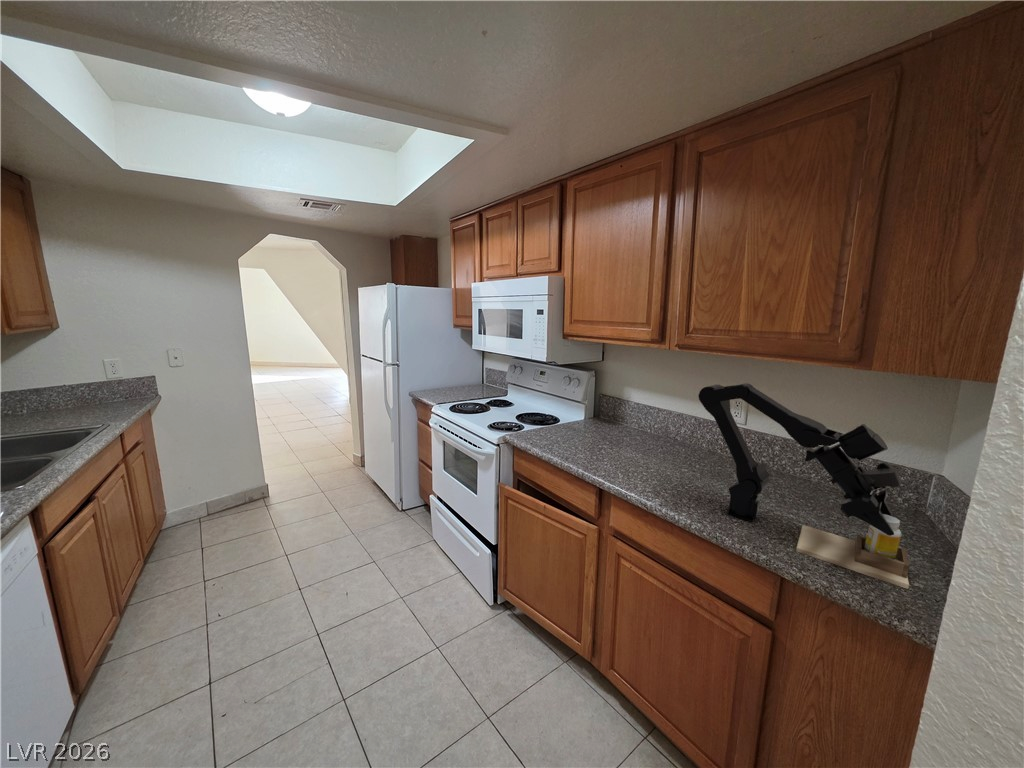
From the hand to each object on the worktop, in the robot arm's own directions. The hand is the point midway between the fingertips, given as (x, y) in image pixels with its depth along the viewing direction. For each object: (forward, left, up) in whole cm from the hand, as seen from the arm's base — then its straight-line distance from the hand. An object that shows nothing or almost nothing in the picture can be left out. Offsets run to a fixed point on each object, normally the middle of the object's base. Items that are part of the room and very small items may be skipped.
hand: (893, 530), depth 89 cm
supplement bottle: (-1, 0, -7) cm, 7 cm away
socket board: (-6, 0, -9) cm, 11 cm away
